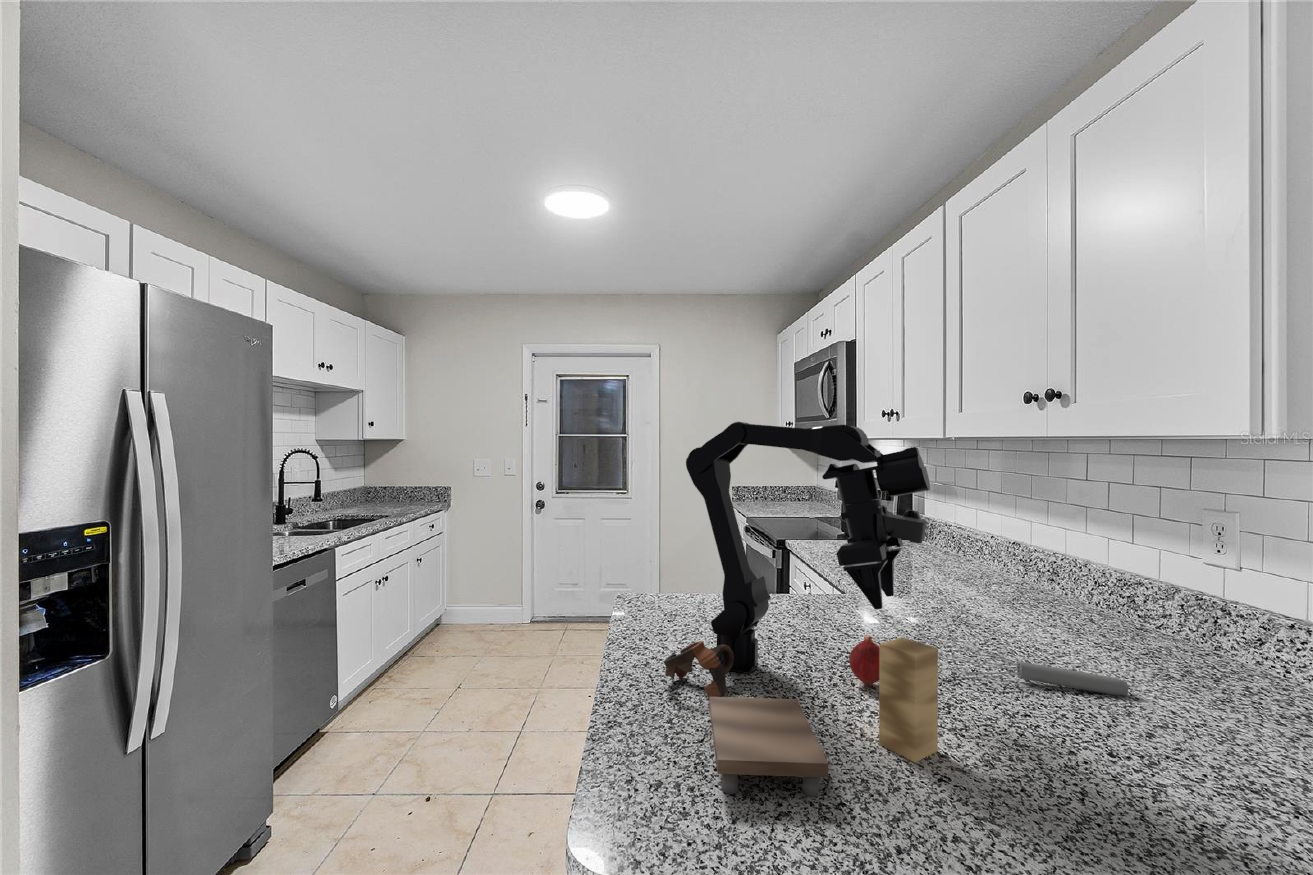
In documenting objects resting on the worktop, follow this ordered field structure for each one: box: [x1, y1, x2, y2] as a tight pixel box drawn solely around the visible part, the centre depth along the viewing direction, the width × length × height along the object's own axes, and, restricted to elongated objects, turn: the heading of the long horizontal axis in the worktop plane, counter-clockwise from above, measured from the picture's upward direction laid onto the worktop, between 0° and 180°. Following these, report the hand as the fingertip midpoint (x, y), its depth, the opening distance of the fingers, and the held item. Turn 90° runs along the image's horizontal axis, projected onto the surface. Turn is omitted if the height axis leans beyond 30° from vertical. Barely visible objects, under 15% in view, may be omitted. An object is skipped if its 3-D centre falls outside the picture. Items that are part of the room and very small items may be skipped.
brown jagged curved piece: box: [663, 640, 734, 700], centre depth 91 cm, size 12×9×8 cm
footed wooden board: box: [708, 696, 829, 798], centre depth 70 cm, size 16×12×4 cm
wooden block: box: [878, 636, 939, 763], centre depth 73 cm, size 5×5×13 cm
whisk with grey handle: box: [913, 634, 1143, 697], centre depth 95 cm, size 6×34×6 cm, turn 71°
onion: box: [848, 634, 880, 687], centre depth 92 cm, size 6×6×8 cm
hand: (884, 602), depth 87 cm, fingers open, 9 cm apart
